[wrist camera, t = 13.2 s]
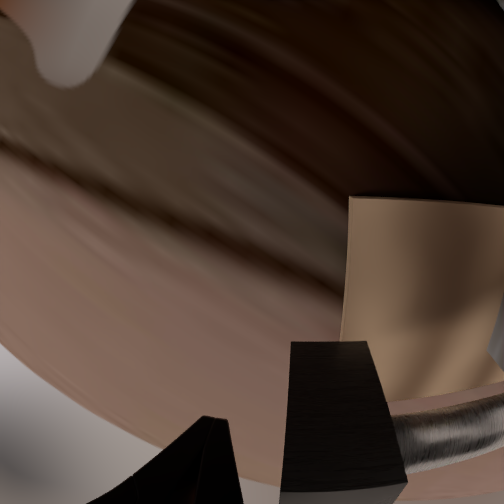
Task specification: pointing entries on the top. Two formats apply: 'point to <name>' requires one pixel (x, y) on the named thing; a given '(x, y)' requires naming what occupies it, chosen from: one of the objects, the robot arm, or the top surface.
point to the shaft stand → (426, 293)
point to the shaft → (368, 430)
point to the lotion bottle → (501, 3)
